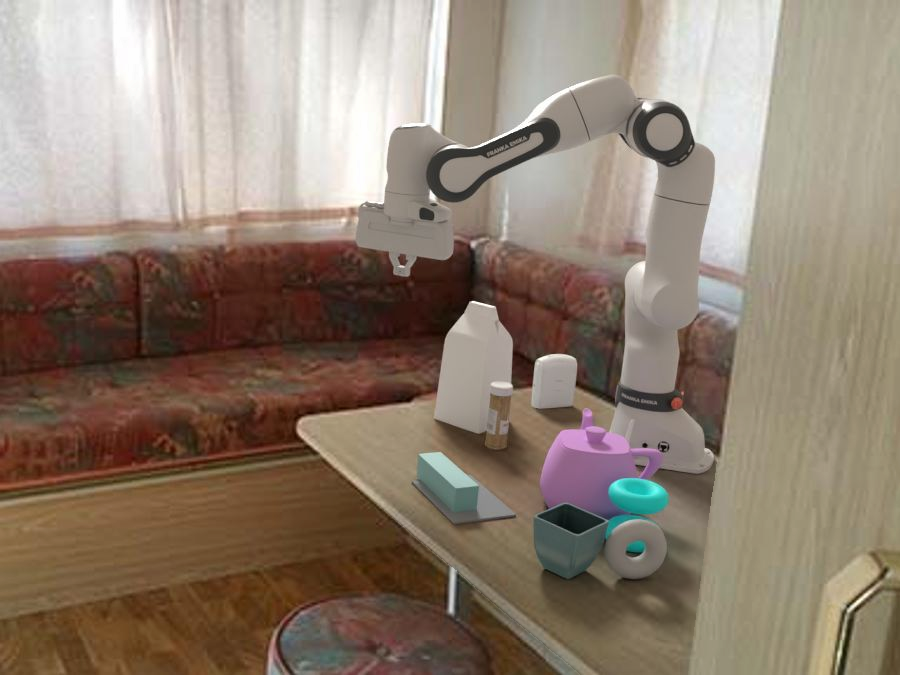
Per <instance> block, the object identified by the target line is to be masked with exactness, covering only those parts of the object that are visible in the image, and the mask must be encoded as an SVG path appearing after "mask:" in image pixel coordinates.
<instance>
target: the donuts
mask: <svg viewBox="0 0 900 675" xmlns="http://www.w3.org/2000/svg"><path fill="white" fill-rule="evenodd" d="M608 494H609V498H610V500H611V501H612V502H613V503H614V504H615V505H616V506H617V507H618V508H620V509H622V510H624V511H627V512H630V513H631V514H630V515H619V516H615V517H613V518H611V519H609V524H608V528H607V531H606V535H605V538H604V539H605V541H607V538H608V536H609V535H610V533H611V532H612V531H613V530H614V529H615V528H616V527H617V526H618V525H620V524H622V523H624V522H626V521H629V520H636V519H641V520H646V521H649V522H651V523H653V524H655V525H657V524H656V523H655V522H653V521H652V519H648V518H646V517H645V516H644V515H653V514H658V513H660V512H661V511H664V509H665V508H666V507H667V506H668V504H669V500H670V499H669V493H668V492H667V491H666V488H664V487H663V486H662V485H660V484H658V483H656V482H653V481H651V480H649V479H648V480H644V479H639V478H624V479H619V480H617V481H615V482H613V483H612V484H611V486H610V487H609V491H608ZM639 515H640V516H639ZM641 515H642V516H641ZM659 529H660V530H661V527H659ZM661 531H662V530H661ZM644 550H645V543H644V542H642V541H635V542H633V543H631V544H630V545H629V546H628V547H627V549H626V552H631V553H643V552H644Z"/></svg>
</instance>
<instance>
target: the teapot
mask: <svg viewBox="0 0 900 675" xmlns="http://www.w3.org/2000/svg"><path fill="white" fill-rule="evenodd" d="M593 415H594V413H593V412H592V411H591V409H590V408H586V407H585V408H584V409H583V410H582V419H581V420H582V421H581V425H580V429H572V428H571V429H564V430H561V431H560V432H559V433H558V434H557V436H556V438H555V439H554V440H553V442H552V445H551V446H550V448H549V450H548V451H547V454H546V457H545V460H544V464H543V466H542V470H541V475H540V480H539V485H540V492H541V495H542V498H543V500H544V503H545V505H546V506H547V508H548V509H551V508H553V507H555V506H557V505H559V504H562V503H569V504H572V505H574V506H576V507H579V508H581V509H583V510H586V511H588V512H590V513H593V514H595V515H597V516H600V517H602V518H604V519H607V520H609V519H611V518H613V517H615V516H619V515H632V513H630V512H627V511H624V510H622V509H620V508H618V507H617V506H616V505H615V504H614V503H613V502H612V501H611V500H610V498H609V494H608V491H609V487H610V486H611V484H612V483H613V482H615V481H617V480H619V479H624V478H639V479H644V480H648V481H649V480H650V478H651V477H652V476H654V475H655V474H656V473H657V471H658V470H659V469H660V468H659V467H660V465H661V463H662V461H663V455H662V453H661V452H660V451H658V450H656V449H649V448H637V449H630V446H629V443H628V441H627V440H626V439H625V438H624V437H623V436H621V435H618V434H614V433H609V431H608V432H607V430H606V429H605V428H603V427H599V426H595V425H594V416H593ZM634 456H644V457H648V458H649V462H648V464H647V466H645V468H644V470H643V471H642V473H640V475H639V476H638V471H637V467H636V466H637V465H636V464H635V462H634V459H633V457H634Z"/></svg>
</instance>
